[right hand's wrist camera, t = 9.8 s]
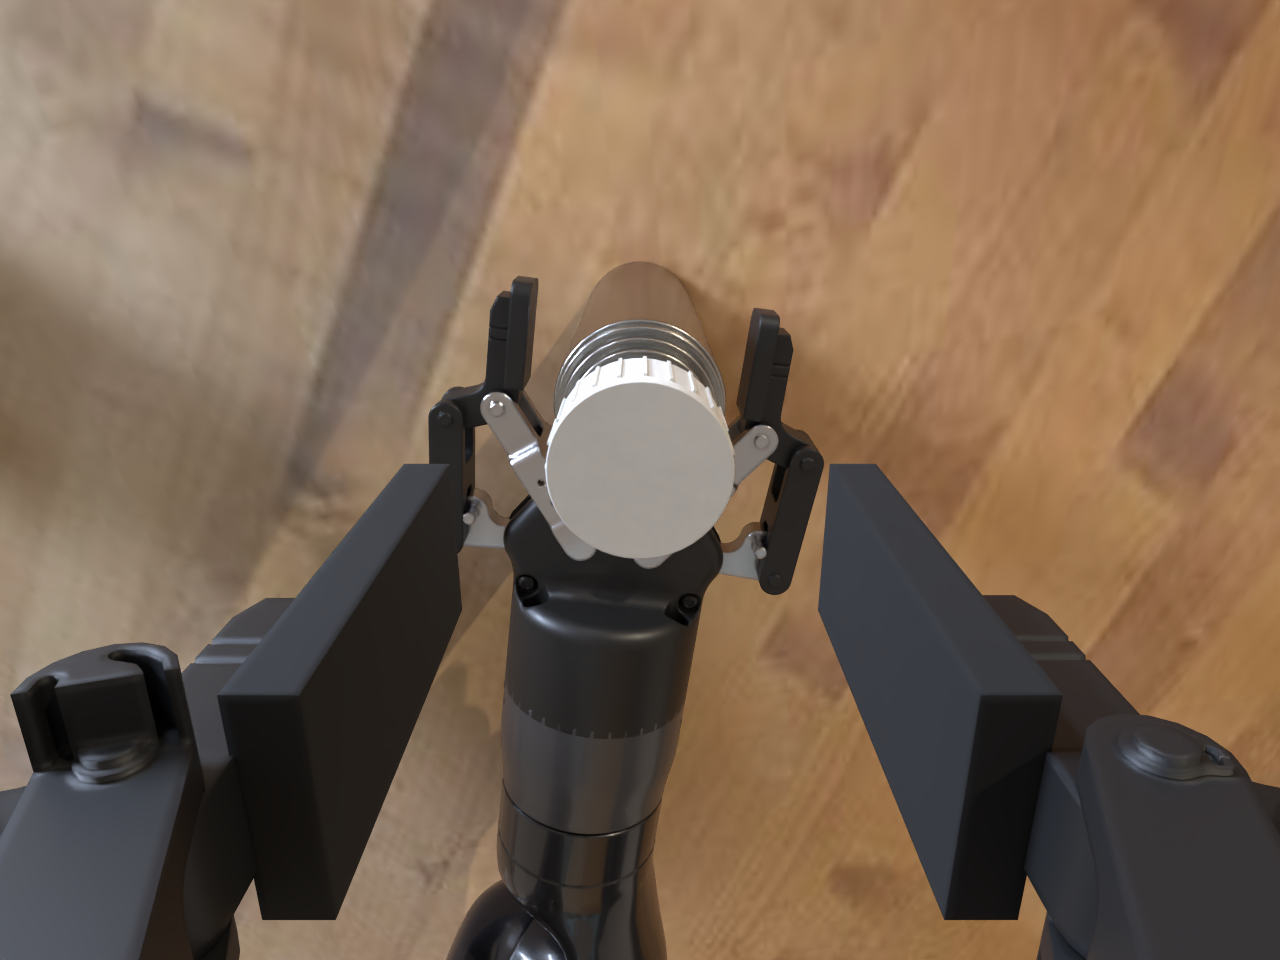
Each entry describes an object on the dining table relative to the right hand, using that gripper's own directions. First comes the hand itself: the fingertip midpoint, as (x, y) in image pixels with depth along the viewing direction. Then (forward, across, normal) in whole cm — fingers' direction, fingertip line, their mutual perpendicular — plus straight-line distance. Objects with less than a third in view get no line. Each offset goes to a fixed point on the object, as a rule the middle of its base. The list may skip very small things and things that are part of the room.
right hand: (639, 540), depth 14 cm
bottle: (+24, 0, 0) cm, 24 cm away
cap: (+4, 0, 0) cm, 4 cm away
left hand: (+17, 0, -2) cm, 17 cm away
